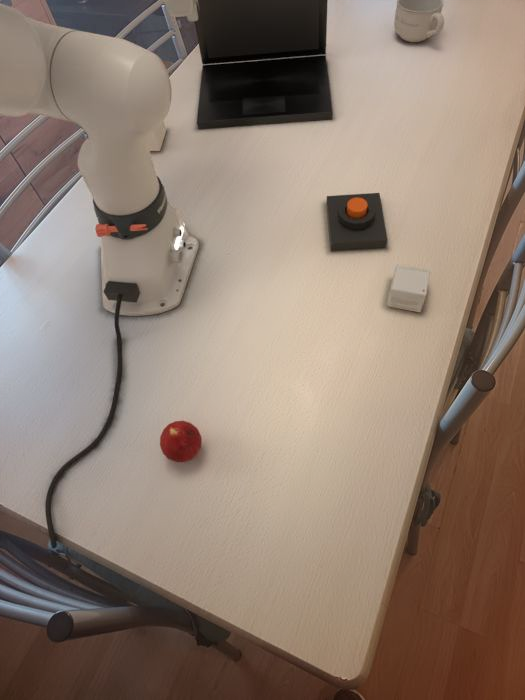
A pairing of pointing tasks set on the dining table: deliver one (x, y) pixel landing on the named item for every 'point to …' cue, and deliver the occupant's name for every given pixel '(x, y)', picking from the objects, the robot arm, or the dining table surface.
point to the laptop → (264, 92)
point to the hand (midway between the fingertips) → (193, 16)
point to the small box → (408, 288)
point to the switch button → (357, 208)
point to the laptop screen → (260, 29)
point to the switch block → (355, 224)
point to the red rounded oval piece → (180, 441)
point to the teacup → (418, 19)
